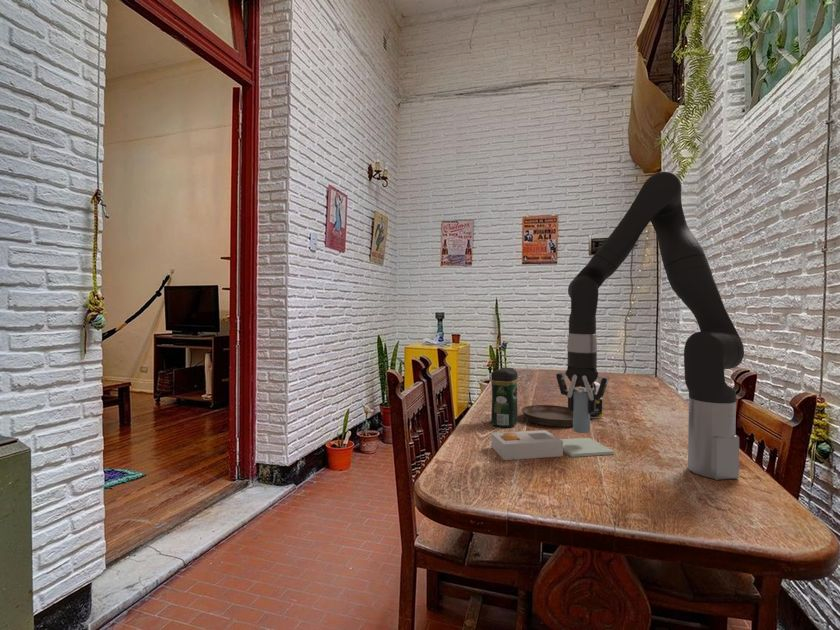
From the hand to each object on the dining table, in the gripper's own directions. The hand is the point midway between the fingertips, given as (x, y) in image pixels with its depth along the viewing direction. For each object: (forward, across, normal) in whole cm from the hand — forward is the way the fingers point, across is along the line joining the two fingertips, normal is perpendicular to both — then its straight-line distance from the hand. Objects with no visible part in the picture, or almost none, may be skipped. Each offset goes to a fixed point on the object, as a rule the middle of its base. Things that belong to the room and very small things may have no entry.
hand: (581, 411), depth 120 cm
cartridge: (+5, 0, 0) cm, 5 cm away
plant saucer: (+11, +16, -24) cm, 31 cm away
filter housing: (+10, +11, +12) cm, 19 cm away
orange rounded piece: (+8, +14, +15) cm, 22 cm away
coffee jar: (+10, +28, -10) cm, 31 cm away
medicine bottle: (+10, +7, -38) cm, 40 cm away
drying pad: (+10, 0, 0) cm, 10 cm away
